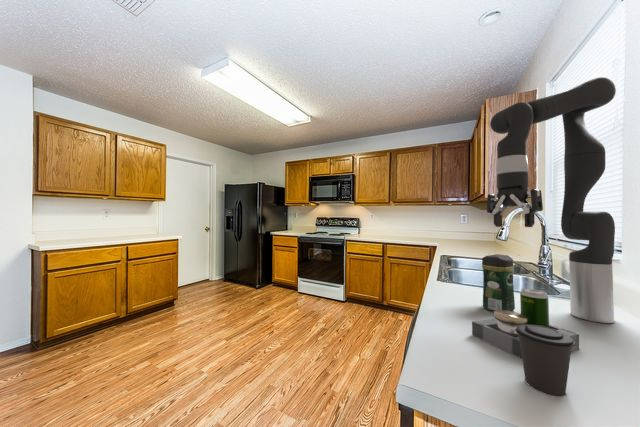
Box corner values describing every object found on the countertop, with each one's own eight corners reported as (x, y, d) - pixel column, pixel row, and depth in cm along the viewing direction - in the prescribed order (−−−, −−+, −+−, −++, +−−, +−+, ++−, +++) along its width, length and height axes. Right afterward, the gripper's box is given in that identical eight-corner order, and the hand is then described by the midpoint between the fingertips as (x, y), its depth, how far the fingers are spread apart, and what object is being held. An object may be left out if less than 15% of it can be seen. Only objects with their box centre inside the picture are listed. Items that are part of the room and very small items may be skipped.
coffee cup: (505, 371, 49) (504, 319, 49) (548, 373, 48) (546, 320, 49) (540, 401, 41) (539, 338, 41) (592, 403, 40) (590, 340, 41)
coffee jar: (492, 303, 91) (491, 252, 91) (518, 310, 84) (517, 255, 85) (478, 308, 86) (477, 253, 86) (505, 315, 79) (504, 256, 80)
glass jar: (506, 336, 64) (506, 309, 64) (534, 348, 58) (534, 318, 58) (488, 339, 62) (487, 311, 62) (515, 352, 56) (514, 321, 56)
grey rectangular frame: (519, 327, 70) (519, 314, 70) (579, 349, 58) (578, 334, 58) (472, 334, 65) (472, 321, 65) (527, 361, 53) (526, 344, 53)
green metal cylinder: (545, 347, 59) (544, 295, 59) (517, 338, 63) (516, 290, 64) (552, 341, 62) (551, 292, 62) (525, 333, 66) (524, 287, 67)
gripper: (548, 169, 69) (549, 227, 69) (497, 177, 83) (498, 226, 82) (529, 166, 67) (530, 227, 66) (480, 176, 81) (481, 226, 80)
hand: (512, 226), depth 74 cm, fingers open, 8 cm apart
